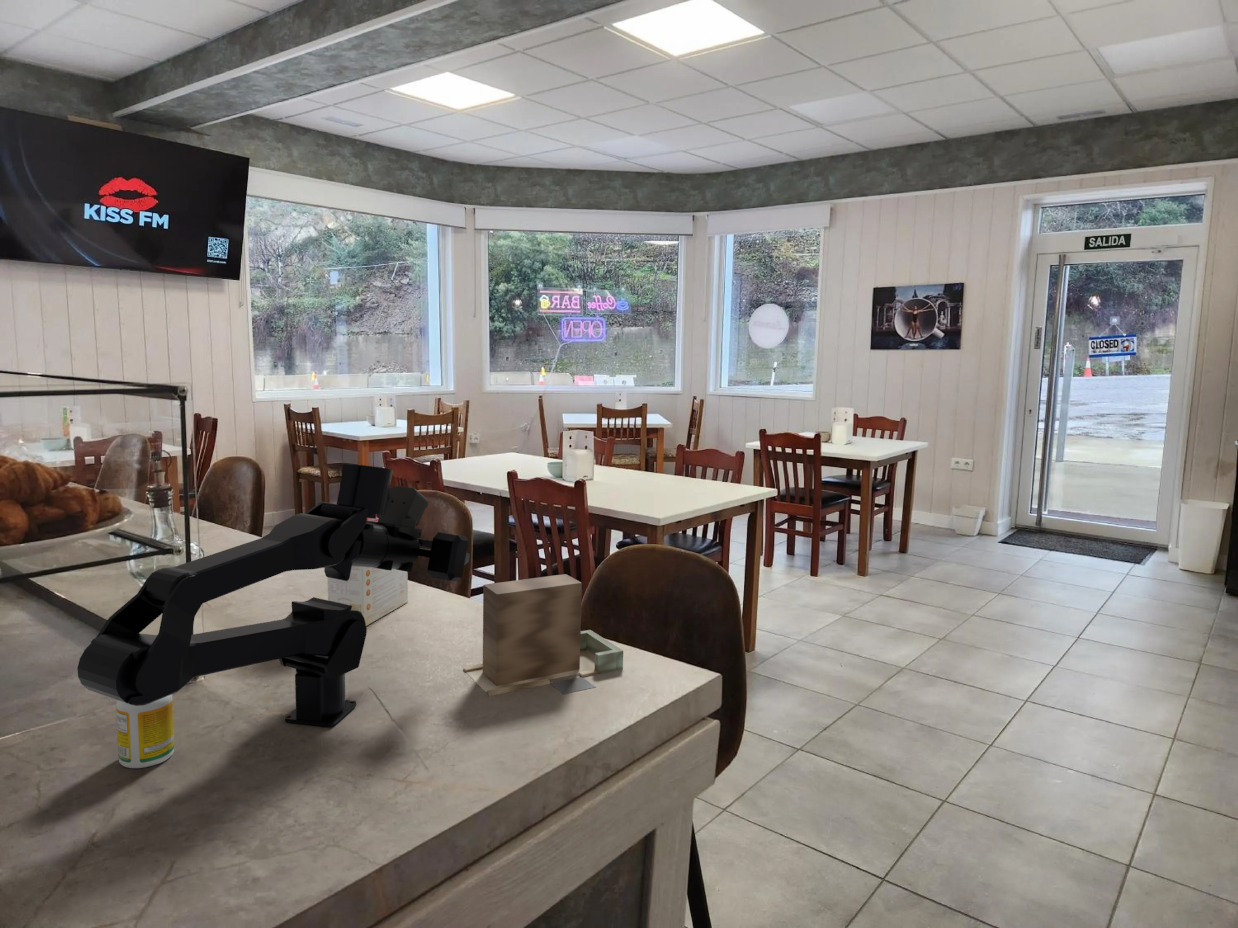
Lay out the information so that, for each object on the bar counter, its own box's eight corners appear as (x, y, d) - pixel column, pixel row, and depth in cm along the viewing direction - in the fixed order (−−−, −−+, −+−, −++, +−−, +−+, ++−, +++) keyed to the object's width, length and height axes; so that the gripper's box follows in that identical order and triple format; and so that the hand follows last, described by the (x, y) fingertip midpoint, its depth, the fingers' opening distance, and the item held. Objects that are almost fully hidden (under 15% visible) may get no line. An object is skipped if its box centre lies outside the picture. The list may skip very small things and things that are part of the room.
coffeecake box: (374, 598, 149) (373, 493, 146) (409, 602, 147) (409, 496, 144) (325, 623, 134) (323, 508, 132) (363, 628, 133) (362, 512, 130)
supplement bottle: (109, 770, 87) (104, 685, 86) (133, 746, 92) (129, 665, 91) (161, 769, 88) (157, 684, 86) (183, 745, 93) (179, 665, 92)
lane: (501, 709, 105) (501, 687, 104) (453, 661, 120) (453, 642, 120) (637, 680, 115) (638, 659, 115) (577, 639, 131) (578, 621, 130)
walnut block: (496, 685, 111) (497, 594, 109) (482, 672, 115) (483, 584, 114) (579, 669, 118) (581, 582, 116) (563, 657, 122) (565, 574, 120)
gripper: (438, 493, 104) (504, 507, 118) (331, 478, 112) (404, 493, 126) (422, 579, 103) (491, 583, 117) (315, 558, 111) (391, 564, 125)
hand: (443, 553), depth 121 cm, fingers open, 9 cm apart
